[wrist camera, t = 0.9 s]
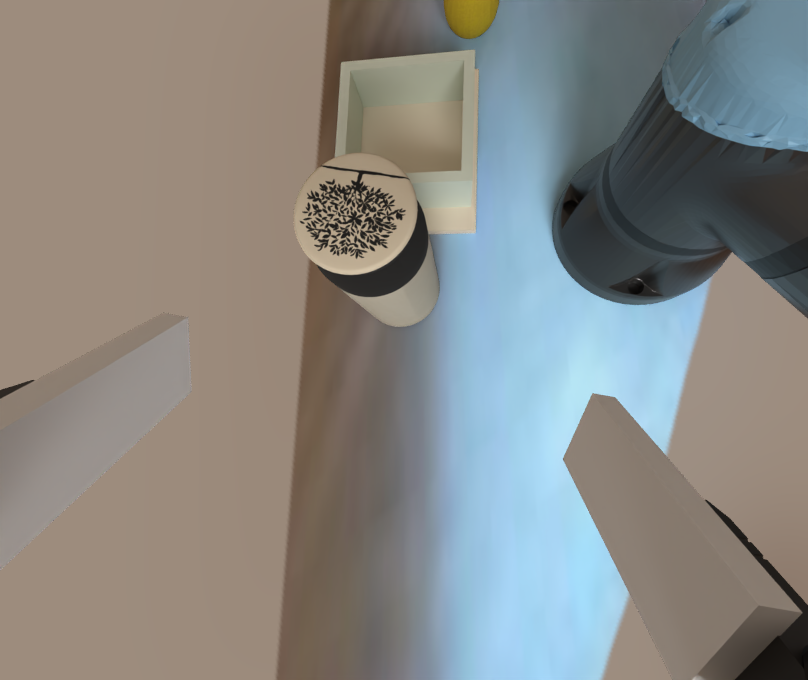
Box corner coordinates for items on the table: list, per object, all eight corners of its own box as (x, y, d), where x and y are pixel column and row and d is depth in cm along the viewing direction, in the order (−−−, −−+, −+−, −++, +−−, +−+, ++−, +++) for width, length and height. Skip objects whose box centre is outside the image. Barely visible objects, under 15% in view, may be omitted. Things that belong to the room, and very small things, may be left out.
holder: (354, 85, 44) (337, 40, 38) (478, 74, 41) (481, 24, 36) (344, 235, 41) (326, 211, 36) (475, 233, 39) (477, 206, 34)
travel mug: (423, 338, 39) (390, 296, 21) (353, 312, 40) (267, 252, 23) (450, 266, 39) (441, 167, 22) (380, 243, 41) (318, 132, 23)
